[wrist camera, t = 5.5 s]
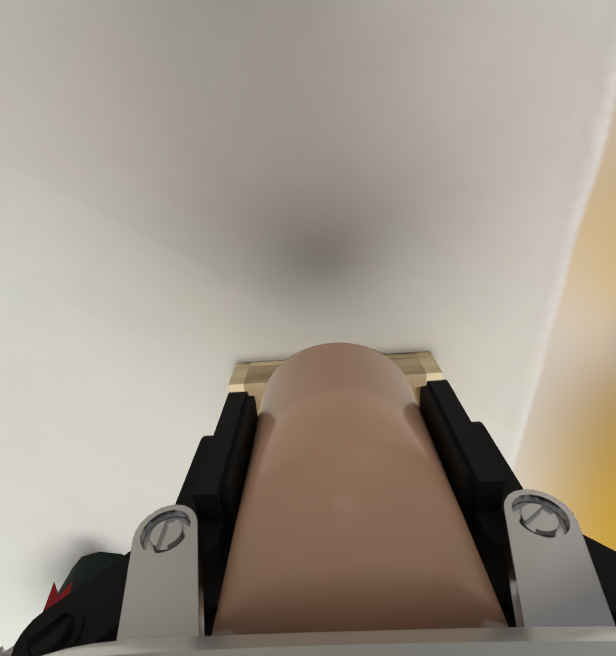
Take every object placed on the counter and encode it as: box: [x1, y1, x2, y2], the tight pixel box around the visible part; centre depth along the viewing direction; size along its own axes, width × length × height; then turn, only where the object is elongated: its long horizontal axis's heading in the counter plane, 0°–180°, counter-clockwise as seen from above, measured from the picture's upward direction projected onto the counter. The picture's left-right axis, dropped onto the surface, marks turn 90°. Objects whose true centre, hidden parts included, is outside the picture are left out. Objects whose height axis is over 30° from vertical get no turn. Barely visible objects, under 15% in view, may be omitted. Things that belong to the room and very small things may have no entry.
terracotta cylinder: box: [212, 343, 509, 636], centre depth 10 cm, size 5×5×7 cm
